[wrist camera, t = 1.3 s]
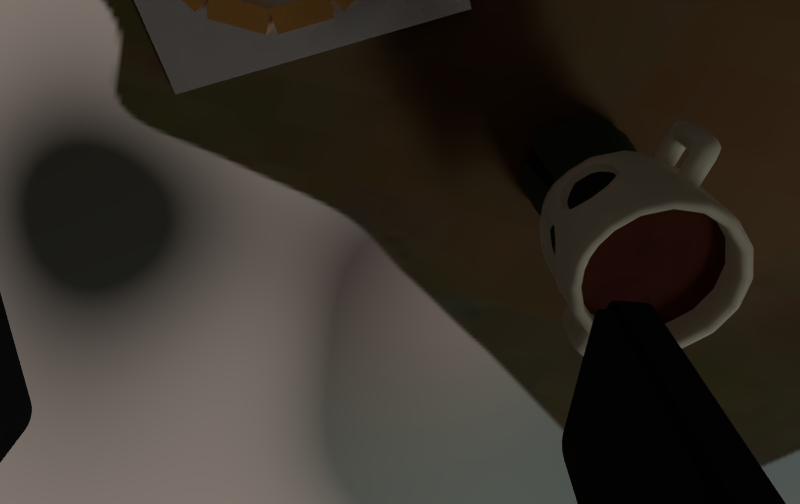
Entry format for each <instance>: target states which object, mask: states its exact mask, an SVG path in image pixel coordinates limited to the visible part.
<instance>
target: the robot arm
mask: <svg viewBox="0 0 800 504" xmlns="http://www.w3.org/2000/svg"><path fill="white" fill-rule="evenodd" d="M31 412H32V406H31V401H30V397H29V394H28V390H27V387H26V383H25V379H24V376H23V372H22V369H21V365H20V361H19V358H18V355H17V351H16V347H15V344H14V340H13V337H12V333H11V329H10V326H9V322H8V319H7V315H6V311H5V308H4V304H3V301H2V297H1V293H0V462H1V461H2V459H3V458H4V457H5V456H6V454H7V453H8V452H9V450H10V449H11V448H12V446H13V445H14V444H15V442H16V440H18V438H19V437H20V436H21V434H22V433H23V432H24V430H25V429H26V427H27V426H28V423H29V421H30V418H31ZM562 451H563V457H564V461H565V463H566V467H567V470H568V474H569V476H570V480H571V483H572V486H573V490H574V493H575V496H576V500H577V503H578V504H785V502H784V501H783V499H782V498H781V496H780V495H779V493H778V492H777V490H776V489H775V487H774V486H773V485H772V483H771V481H770V480H769V478H768V477H767V475H766V474H765V472H764V471H763V469H762V468H761V466H760V465H759V463H758V462H757V460H756V459H755V457H754V456H753V454H752V453H751V451H750V450H749V448H748V447H747V445H746V444H745V443H744V441H743V440H742V438H741V437H740V435H739V434H738V432H737V431H736V429H735V428H734V426H733V425H732V423H731V422H730V420H729V419H728V417H727V416H726V414H725V413H724V411H723V410H722V408H721V407H720V405H719V404H718V402H717V401H716V399H715V398H714V396H713V395H712V393H711V392H710V390H709V389H708V387H707V386H706V384H705V383H704V381H703V380H702V378H701V377H700V375H699V374H698V372H697V371H696V369H695V368H694V367H693V365H692V364H691V362H690V361H689V359H688V358H687V356H686V355H685V353H684V352H683V350H682V349H681V347H680V346H679V344H678V343H677V341H676V340H675V338H674V337H673V335H672V334H671V332H670V331H669V329H668V328H667V326H666V325H665V323H664V322H663V320H662V319H661V317H660V316H659V314H658V313H657V311H656V310H655V308H654V307H653V306H652V305H651V304H650V303H645V302H629V301H611V302H610V303H609V304H608V306H607V308H606V309H599V310H597V312H596V313H595V316H594V319H593V323H592V327H591V330H590V334H589V338H588V342H587V346H586V349H585V353H584V357H583V361H582V364H581V368H580V372H579V376H578V379H577V383H576V387H575V391H574V395H573V398H572V402H571V406H570V410H569V413H568V417H567V421H566V425H565V428H564V432H563V439H562Z"/></svg>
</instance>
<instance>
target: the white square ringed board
mask: <svg viewBox="0 0 800 504" xmlns="http://www.w3.org/2000/svg"><path fill="white" fill-rule="evenodd" d="M134 2H135V4H136V6H137V8H138V11H139V13H140V15H141V17H142V20H143V22H144V24H145V26H146V29H147V31H148V33H149V36H150V38H151V40H152V42H153V45H154V47H155V49H156V51H157V54H158V56H159V58H160V60H161V63H162V65H163V67H164V69H165V72H166V74H167V76H168V78H169V81H170V83H171V85H172V87H173V90H174V92H175V94H178V93H182V92H185V91H189V90H192V89H196V88H199V87H203V86H206V85H210V84H213V83H216V82H220V81H223V80H227V79H230V78H234V77H237V76H241V75H244V74H248V73H251V72H255V71H258V70H262V69H265V68H268V67H272V66H275V65H279V64H282V63H286V62H289V61H293V60H296V59H300V58H303V57H307V56H310V55H314V54H317V53H320V52H324V51H327V50H331V49H334V48H338V47H341V46H345V45H348V44H352V43H355V42H359V41H362V40H366V39H369V38H372V37H376V36H379V35H383V34H386V33H390V32H393V31H397V30H400V29H404V28H407V27H411V26H414V25H417V24H421V23H424V22H428V21H431V20H435V19H438V18H442V17H445V16H449V15H452V14H456V13H459V12H463V11H466V10H469V9H471V4H470V0H134Z"/></svg>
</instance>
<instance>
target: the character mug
mask: <svg viewBox="0 0 800 504" xmlns="http://www.w3.org/2000/svg"><path fill="white" fill-rule="evenodd" d="M532 147H533V149H534V150H535V152H536V153H537V155H538V156H539V158H538V159H537V160H536V164H535V170H534V171H533V170H532V168H531V167H530V166H529V165H528V164H527V163H526V161H525V162H524V164H523V165H522V175H523V189H524V190H525V192H526V194H527V196H528V198H529V199H530V201H531V203H532V205H533V207H534V208H535V209H536V211H537V212H538V213H539V215H540V216H541V218H540V224H539V231H540V238H541V246H542V251H543V254H544V257H545V260H546V263H547V265H548V267H549V268H550V270H551V272H552V273H553V275H554V277H555V279H556V281H557V285H558V289H559V291H560V292H561V294H562V295H563V296H564V298H565V299H566V301H567V303H568V305H567V306H566V308H565V311H564V313H563V316H562V318H563V324H564V326H565V329H566V331H567V334H568V336H569V338H570V341H571V343H572V345H573V347H574V348H575V349H576V350H577V351H578V352H579V353H580V354H581V355H582V356H584V353H585V349H586V346H587V342H588V338H589V334H590V330H591V327H592V323H593V319H594V316H595V313H596V312H597V310H599V309H606V308H607V306H608V304H609V303H610V302H611V301H629V302H645V303H650V304H651V305H652V306H653V307H654V308H655V310H656V311H657V313H658V314H659V316H660V317H661V319H662V320H663V322H664V323H665V325H666V326H667V328H668V329H669V331H670V332H671V334H672V335H673V337H674V338H675V340H676V341H677V343H678V344H679V346H680V347H681V349H682V348H684V347H686V346H688V345H690V344H692V343H694V342H696V341H698V340H700V339H702V338H704V337H706V336H708V335H710V334H712V333H714V332H715V331H716V330H717V329H718V328H719V327H720V326H721V325H722V324H723V323H724V322H725V321H726V320H727V319H728V318H729V317H730V316H731V315H732V314H733V313H734V312H735V311H736V310H737V309H738V308H739V307H740V305H741V303H742V300H743V298H744V296H745V294H746V292H747V290H748V288H749V286H750V284H751V282H752V280H753V251H754V248H753V246H752V244H751V242H750V240H749V238H748V236H747V235H746V233H745V231H744V229H743V227H742V225H741V223H740V221H739V220H738V219H737V218H736V217H735V215H734V214H733V213H731V212H730V211H729V210H728V209H727V208H725V207H724V206H723V205H722V204H721V203H719V202H718V201H717V200H716V199H715V198H713V197H712V196H711V195H710V194H709V193H707V192H706V191H705V190H704V189H703V188H701V187H700V185H701V183H702V182H703V180H704V178H705V177H706V175H707V174H708V172H709V171H710V169H711V167H712V166H713V164H714V163H715V161H716V159H717V158H718V155H719V153H720V150H721V146H720V144H719V142H718V140H717V139H716V138H715V136H714V135H712V134H711V133H709V132H708V131H706V130H705V129H703V128H701V127H700V126H698V125H697V124H695V123H694V122H692V121H691V120H686V121H676V122H675V123H674V124H673V125H672V127H671V128H670V129H669V131H668V132H667V134H666V136H665V138H664V139H663V141H662V143H661V144H660V146H659V148H658V150H657V151H656V153H655V154H650V153H642V152H637V151H636V149H635V147H634V146H633V144H632V143H631V141H630V140H629V139H628V137H627V136H626V134H624V133H623V132H621V131H620V130H618V129H617V128H616V127H614V126H613V125H611V124H610V123H609V122H607V121H604V120H598V119H592V118H586V117H580V116H579V117H576V118H573V119H570V120H567V121H563V122H560V123H557V124H554V125H553V126H551V127H550V128H549V129H548V130H547V131H545V132H544V133H543V134H542V135H540V136H539V137H538V138H537V139H536V140H534V143H533V145H532ZM685 148H687V149H688V150H689V151H690V152H689V155H688V156H687V158H686V160H685V161H684V163H683V164H682V166H681V168H680V169H678V168H677V167H675V165H676V163H677V162H678V160H679V158H680V157H681V155H682V153H683V152H684V150H685Z"/></svg>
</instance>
